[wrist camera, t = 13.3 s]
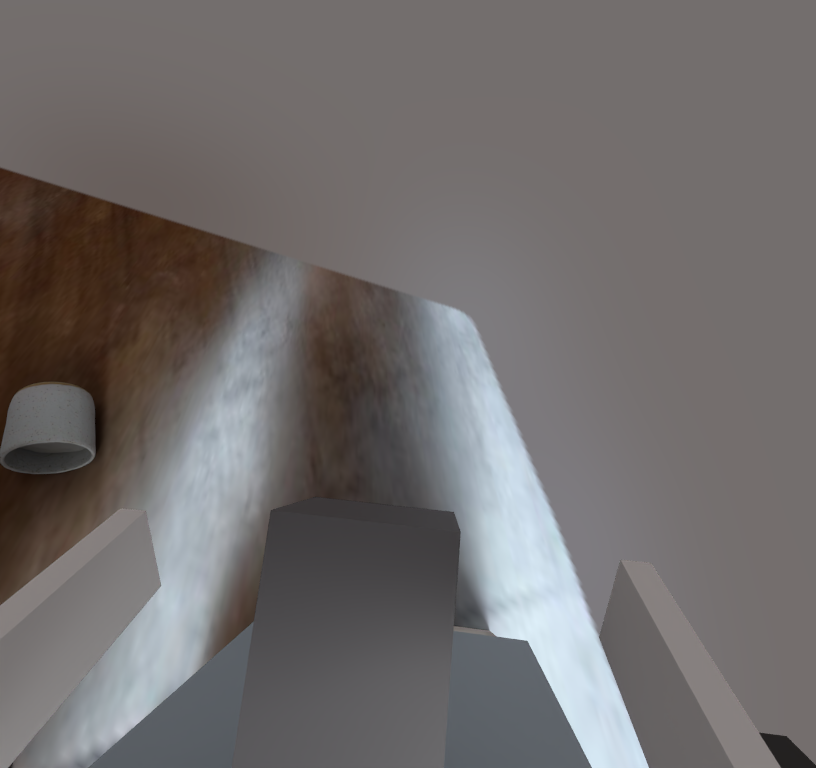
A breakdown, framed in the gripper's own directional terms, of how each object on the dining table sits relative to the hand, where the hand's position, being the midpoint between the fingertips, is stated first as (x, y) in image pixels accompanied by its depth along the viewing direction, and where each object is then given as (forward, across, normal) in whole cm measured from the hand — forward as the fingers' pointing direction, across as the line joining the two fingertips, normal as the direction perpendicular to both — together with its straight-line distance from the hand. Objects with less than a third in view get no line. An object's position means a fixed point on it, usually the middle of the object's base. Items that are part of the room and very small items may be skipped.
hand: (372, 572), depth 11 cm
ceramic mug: (+30, -41, -15) cm, 53 cm away
